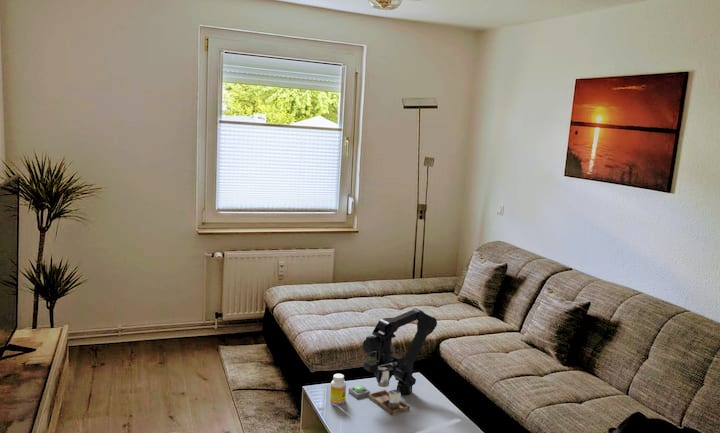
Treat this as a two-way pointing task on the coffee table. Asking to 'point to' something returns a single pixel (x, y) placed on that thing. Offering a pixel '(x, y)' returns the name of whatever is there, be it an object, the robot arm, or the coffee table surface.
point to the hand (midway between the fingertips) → (383, 381)
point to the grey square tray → (359, 395)
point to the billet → (384, 377)
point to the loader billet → (394, 399)
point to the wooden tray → (387, 402)
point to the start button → (359, 389)
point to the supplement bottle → (338, 390)
